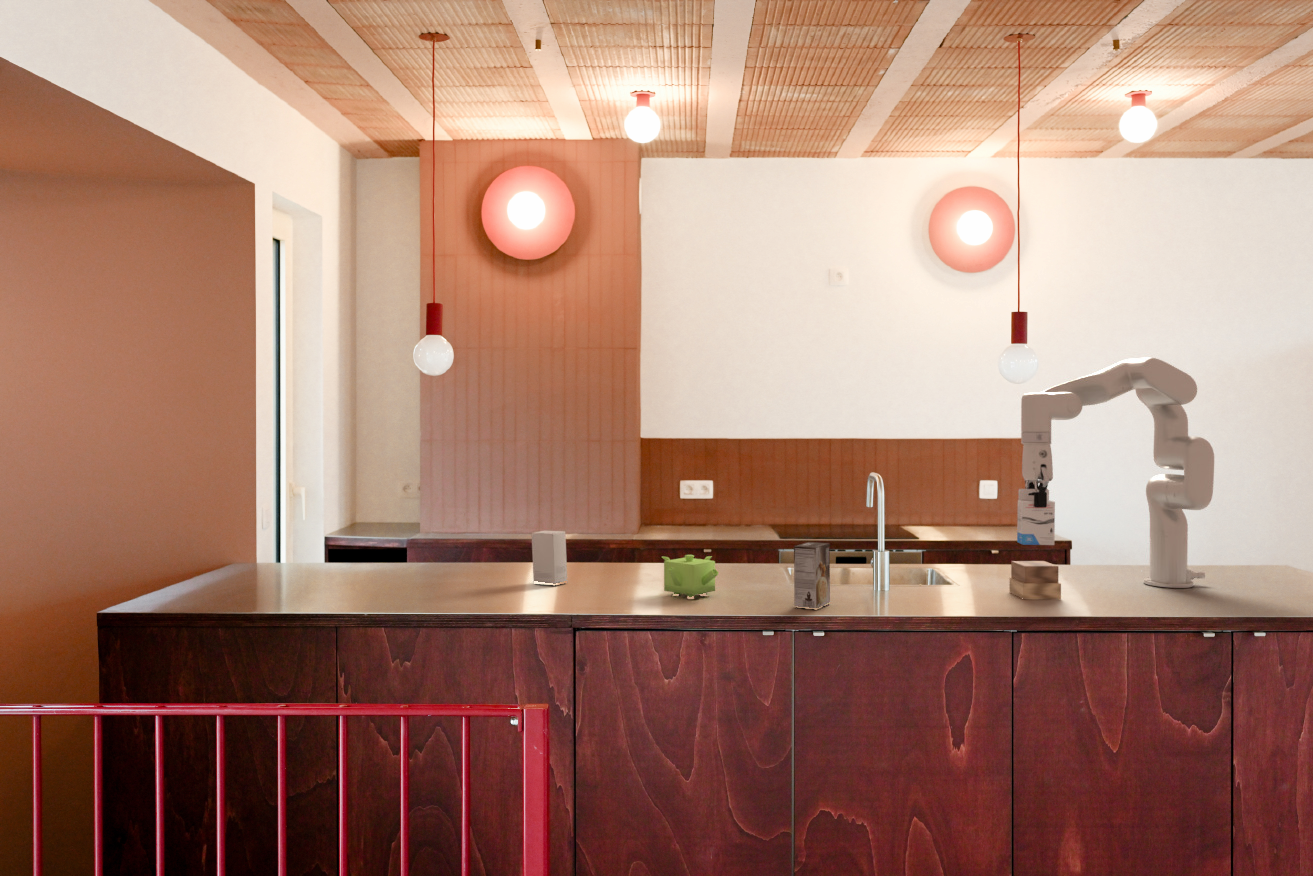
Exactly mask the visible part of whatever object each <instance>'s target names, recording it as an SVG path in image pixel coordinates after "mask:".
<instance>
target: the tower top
mask: <svg viewBox="0 0 1313 876" xmlns="http://www.w3.org/2000/svg"><path fill="white" fill-rule="evenodd" d="M1010 563H1011V573H1010V575H1011V576H1010V577H1011V578H1014V579H1016V580H1018V581H1020V582H1023V583H1059V565H1056V564H1054V563H1050V562H1048V561H1045V560H1011V562H1010Z"/></svg>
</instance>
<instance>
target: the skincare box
mask: <svg viewBox="0 0 1313 876" xmlns="http://www.w3.org/2000/svg"><path fill="white" fill-rule="evenodd" d="M566 540H567V538H566V531H565V530H563V531H562V530H540V531H534V532H531V550H532V553H531V554H532V571H533V572H532V573H533V577H532V579H533V582H534V581H538V582H545V583H553V584H556V583H560V582H564V581H567V582H568V568H567V567H568V565H567V564H568V563H567V560H568V559H567V541H566Z"/></svg>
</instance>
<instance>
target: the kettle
mask: <svg viewBox="0 0 1313 876" xmlns="http://www.w3.org/2000/svg"><path fill="white" fill-rule="evenodd" d="M694 557H695V555H693V554H685V555H684V557H680V558H673V559H670V557H668V556H661V558H662V559H663V560H664V561H663V575H664V576H663V583H664V586H663V587H664V589H663V590H664V592H669V593H674V594H680V595H686V597H687V596H689V597H692V596H697V595H699V594H703V593H706V594H708V593H711V592H716V577H717V576H718V575H719V572H718V570H717V569H716V561H715V560H711V559H712V557H713V556H712V555H711V556H710V555H709V556H706V557H705V558H704V559H702V558H696V557H695V558H694Z"/></svg>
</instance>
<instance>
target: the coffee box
mask: <svg viewBox="0 0 1313 876" xmlns="http://www.w3.org/2000/svg"><path fill="white" fill-rule="evenodd" d="M830 549H831V547H830V542H815V541H814V542H813V541H807V542H804V543H800V544H797V545H794V546H793V590H794V591H793V595H794V597H793V598H794V600H793V601H794V602H793V603H794V604H793V605H794V606H798V607H809V608H819V607H821V606H824V605H825V604H827V603H829V602H830V603H831V581H830V580H831V567H830V566H831V565H830V562H831V560H830V559H831V558H830V556H831V555H830V551H831V550H830Z"/></svg>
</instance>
